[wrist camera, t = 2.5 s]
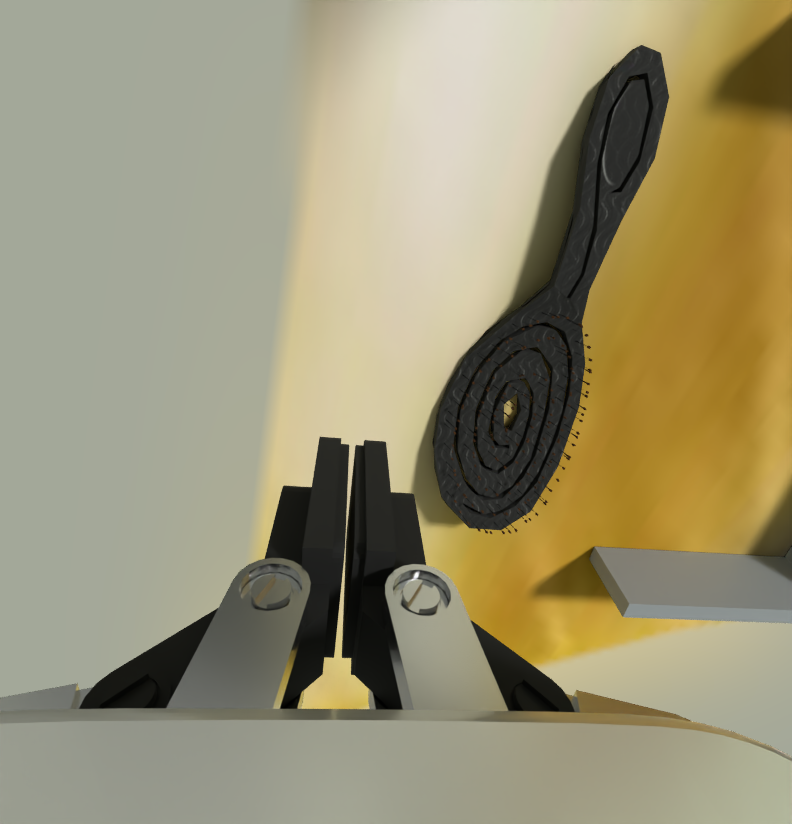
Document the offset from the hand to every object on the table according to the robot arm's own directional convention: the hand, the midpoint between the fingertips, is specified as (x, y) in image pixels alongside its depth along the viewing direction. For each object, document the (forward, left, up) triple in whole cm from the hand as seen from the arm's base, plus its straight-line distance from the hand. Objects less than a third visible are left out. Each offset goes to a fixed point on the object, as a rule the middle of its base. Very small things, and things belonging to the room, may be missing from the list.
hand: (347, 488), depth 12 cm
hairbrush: (-1, +10, -15) cm, 18 cm away
